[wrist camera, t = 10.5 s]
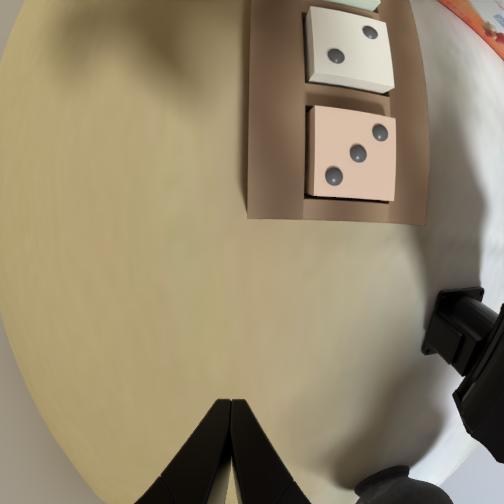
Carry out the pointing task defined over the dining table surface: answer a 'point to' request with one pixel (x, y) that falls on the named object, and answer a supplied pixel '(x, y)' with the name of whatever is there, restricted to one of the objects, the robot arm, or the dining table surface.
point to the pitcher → (399, 489)
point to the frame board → (309, 95)
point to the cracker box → (482, 19)
